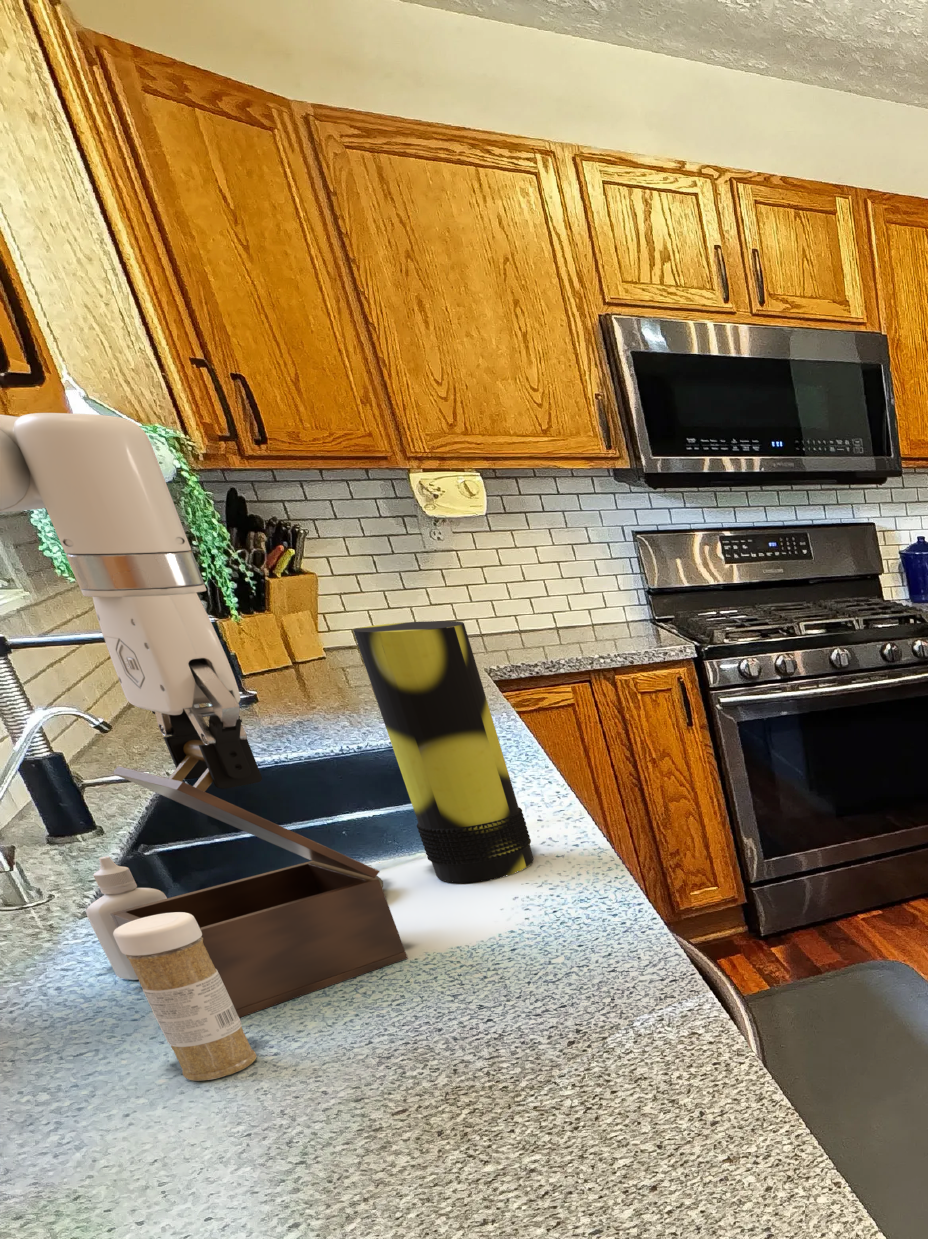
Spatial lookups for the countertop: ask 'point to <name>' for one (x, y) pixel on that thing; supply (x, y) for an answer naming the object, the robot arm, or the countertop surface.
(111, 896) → the eye dropper bottle
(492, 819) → the container
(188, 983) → the spice jar
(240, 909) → the walnut box
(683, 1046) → the countertop surface
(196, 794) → the walnut panel
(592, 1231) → the countertop surface
